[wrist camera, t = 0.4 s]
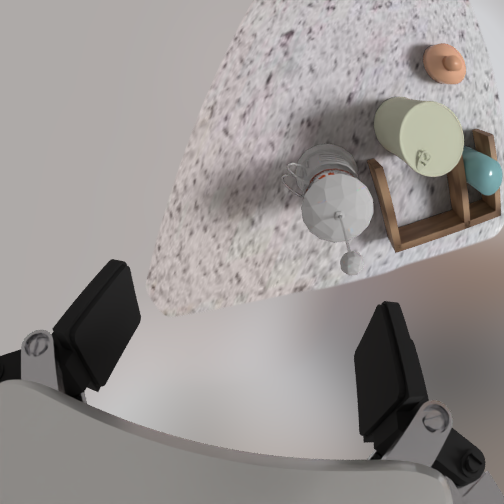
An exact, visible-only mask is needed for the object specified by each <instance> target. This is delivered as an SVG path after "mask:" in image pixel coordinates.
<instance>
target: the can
mask: <svg viewBox="0 0 504 504" xmlns="http://www.w3.org/2000/svg"><path fill="white" fill-rule="evenodd" d="M374 130H375V134H376V136H377V139H378V141H379V142H380V144H381V145H382V146H383V147H384V148H385V149H386V150H388V151H389V152H391V153H393V154H395V155H396V156H398V157H399V158H400V159H402V160H403V161H404V162H406V163H407V164H408V165H409V166H410V167H411V168H412V169H413V170H414V171H416V172H417V173H419V174H421V175H424V176H428V177H438V176H442V175H444V174H446V173H448V172H450V171H451V170H452V169H453V168H454V167H455V166H456V165H457V163H458V162H459V160H460V158H461V155H462V152H463V147H464V135H463V130H462V127H461V124H460V122H459V120H458V118H457V117H456V116H455V114H454V113H453V112H452V111H451V110H450V109H449V108H447V107H446V106H444V105H442V104H440V103H437V102H433V101H420V100H412V99H408V98H405V97H394V98H390V99H388V100H386V101H385V102H383V103H382V104H381V105H380V107H379V108H378V110H377V112H376V114H375V118H374Z"/></svg>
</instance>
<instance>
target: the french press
mask: <svg viewBox="0 0 504 504" xmlns="http://www.w3.org/2000/svg"><path fill="white" fill-rule="evenodd" d="M289 165H297V167H296V171H295V174H294V173H293V172H292V171H291V170H290V169H289ZM287 170H288V171H289V172H290V173H291V174H285V175H283V176H282V178H281V180H282V183H283V184H284V185H285V186H286V187H287V188H288V189H289V190H290V191H291V192H293V193H294V194H296V195H297V196H299V197H303V198H304V200H303V203H302V207H301V209H302V217H303V221H304V223H305V224H306V226H307V228H308V229H309V231H310V232H311V233H313V234H314V235H316V236H317V237H318V238H320V239H322V240H326V241H330V242H334V243H335V242H343V241H346V245H347V248H348V253H345V254H344V255H343V257H342V258H341V261H340V265H341V269H342V271H343V272H345V273H346V274H348V275H357V274H358V273H359V272H360V271H361V270H362V269H363V267H364V261H363V257H362V256H361V255H360V254H359V253H358V252H354V251H352V252H351V250H350V246H349V243H348V241H349V240H351V239H353V238H355V237H357V236H359V235H360V234H361V233H362V232H363V231H364V230H365V229H366V228H367V226H368V225H369V223H370V220H371V218H372V215H373V199H372V196H371V194H370V192H369V190H368V188H367V187H366V186H365V185H364V184H363V183H361V182H360V180H359V178H358V169H357V164H356V162H355V161H354V159H353V157H352V155H351V154H350V153H348V152H347V151H346V150H345V149H343V148H342V147H340V146H336V145H333V144H321V145H315V146H314V147H312V148H310V149H308V150H307V151H305V152H304V154H303V155H302V156H301V158H300V159H299V160H298V163H297V164H296V163H289V164H287ZM285 176H294V177H295V178H296V180H297V185H298V187H299V188H300V190H301V191H302V195H300V194H299V193H297V192H295V191H293V190H292V189H291V188H290V187H289V186H288V185H287V184H286V183H285V182H284V180H283V179H284V177H285Z"/></svg>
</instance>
